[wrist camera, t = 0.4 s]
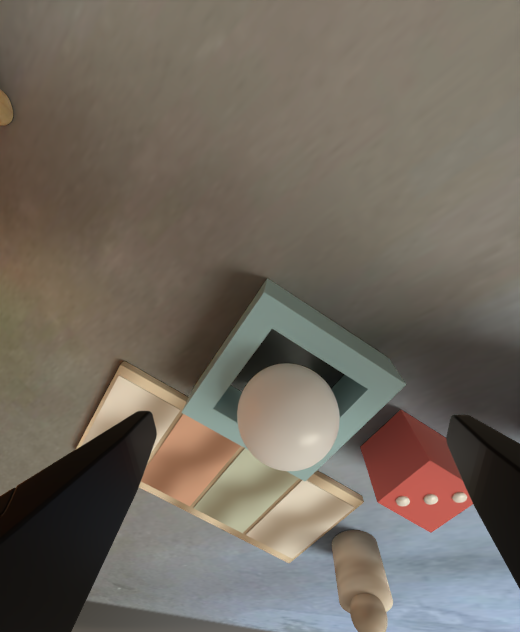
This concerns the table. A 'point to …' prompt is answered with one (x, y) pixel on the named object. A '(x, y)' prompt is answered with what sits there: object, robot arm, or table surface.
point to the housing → (314, 336)
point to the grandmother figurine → (5, 109)
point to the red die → (415, 472)
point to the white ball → (288, 417)
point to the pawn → (361, 580)
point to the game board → (222, 473)
